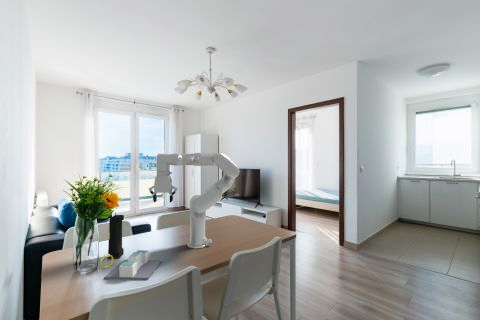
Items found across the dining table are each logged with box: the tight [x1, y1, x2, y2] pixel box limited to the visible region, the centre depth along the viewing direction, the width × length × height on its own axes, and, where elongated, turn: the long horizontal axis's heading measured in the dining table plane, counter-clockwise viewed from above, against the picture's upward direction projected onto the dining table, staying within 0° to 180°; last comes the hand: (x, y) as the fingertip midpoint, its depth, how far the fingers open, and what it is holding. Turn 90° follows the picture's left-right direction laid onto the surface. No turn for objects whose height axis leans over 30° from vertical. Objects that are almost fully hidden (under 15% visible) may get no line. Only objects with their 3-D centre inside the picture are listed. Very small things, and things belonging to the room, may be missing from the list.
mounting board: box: [103, 249, 163, 281], centre depth 112 cm, size 20×18×6 cm
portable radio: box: [107, 212, 125, 260], centre depth 127 cm, size 8×6×25 cm
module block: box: [127, 251, 142, 269], centre depth 112 cm, size 4×6×6 cm, turn 0°
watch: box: [99, 253, 115, 269], centre depth 115 cm, size 6×3×6 cm, turn 143°
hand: (163, 202), depth 139 cm, fingers open, 9 cm apart
